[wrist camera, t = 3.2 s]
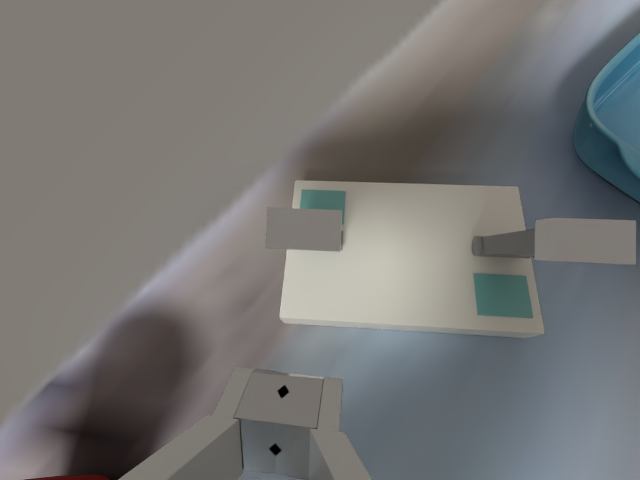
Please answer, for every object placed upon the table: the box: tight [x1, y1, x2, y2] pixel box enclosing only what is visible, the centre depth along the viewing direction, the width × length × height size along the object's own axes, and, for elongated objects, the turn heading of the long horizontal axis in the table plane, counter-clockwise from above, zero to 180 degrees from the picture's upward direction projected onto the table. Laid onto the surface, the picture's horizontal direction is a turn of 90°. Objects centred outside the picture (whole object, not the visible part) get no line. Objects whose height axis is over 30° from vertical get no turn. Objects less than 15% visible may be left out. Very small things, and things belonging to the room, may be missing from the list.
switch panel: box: [280, 180, 545, 338], centre depth 33 cm, size 14×22×3 cm, turn 86°
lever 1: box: [265, 207, 343, 252], centre depth 26 cm, size 2×4×12 cm, turn 86°
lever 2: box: [472, 217, 636, 265], centre depth 24 cm, size 2×4×12 cm, turn 86°
